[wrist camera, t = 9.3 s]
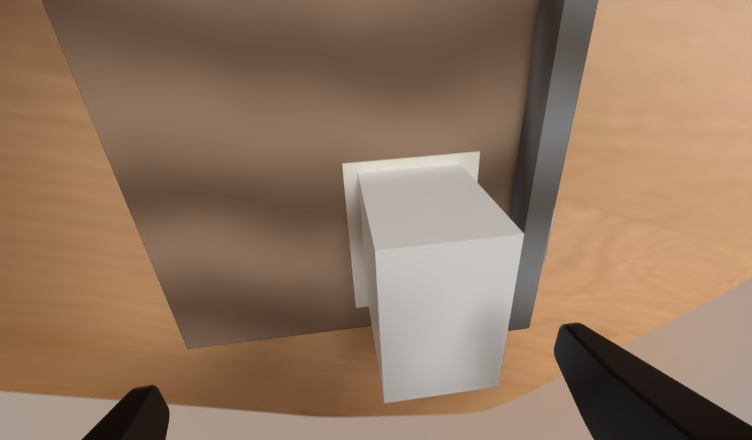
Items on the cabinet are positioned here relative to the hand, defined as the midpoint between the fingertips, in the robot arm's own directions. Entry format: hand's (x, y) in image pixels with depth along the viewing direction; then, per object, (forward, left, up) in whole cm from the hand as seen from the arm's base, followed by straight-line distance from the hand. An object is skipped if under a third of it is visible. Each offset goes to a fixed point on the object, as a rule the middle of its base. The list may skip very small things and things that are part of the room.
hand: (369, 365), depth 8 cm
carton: (+3, +3, -9) cm, 10 cm away
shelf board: (0, 0, -11) cm, 11 cm away
